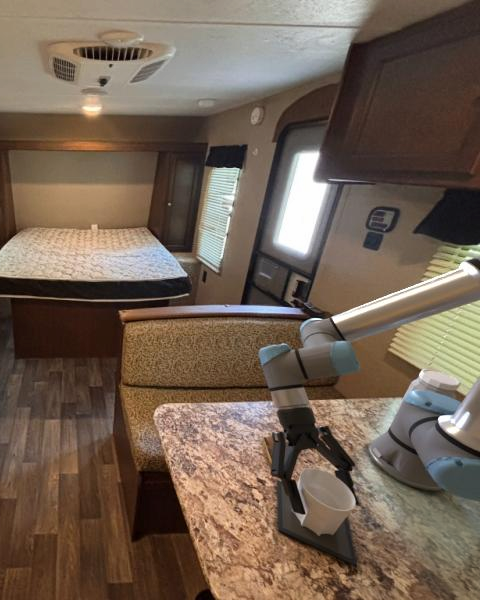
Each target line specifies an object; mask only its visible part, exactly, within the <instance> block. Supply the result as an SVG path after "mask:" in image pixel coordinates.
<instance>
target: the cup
mask: <svg viewBox="0 0 480 600" xmlns="http://www.w3.org/2000/svg"><path fill="white" fill-rule="evenodd" d="M297 487H298V490H299V493H300V497H301V500H302V503H303V506H304V509H305V512H306V514H305V515H302V514H299V513H296V512H293V509H292V512H293V513H294V514H296V516H297V517H298V519H299V520H300V522H301V526H305V527H307V528H309V529H310V530H312V531H314V532H315V533H316V534H317V535H318V536H319V535H321V534H331V535H333V534H334V533H335V532H336V530H337V529H338V528H339V526H340V525H341V523H342V522H343V521H344V520H345V518H346V517H347V518H348V516H349V515H350V513H352V511H353V510H354V508H355V507H356V506H357V505H356V500H355V497H354V495H353V493H352V492H351V490H350V489H349V488H348V487H347V486H346V484H344V483H343V482H342V481H341V480H340V479H338V478H337V477H336V475H335V474H333V473H330V472H328V471H326V470H323V469H320V468H316V467H306V468H303V469H302V470H300V474H299V477H298V481H297Z"/></svg>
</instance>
